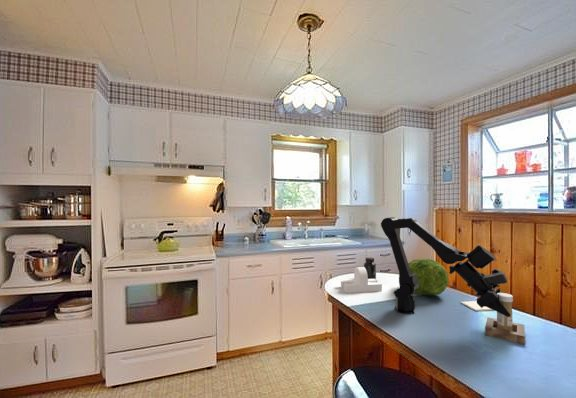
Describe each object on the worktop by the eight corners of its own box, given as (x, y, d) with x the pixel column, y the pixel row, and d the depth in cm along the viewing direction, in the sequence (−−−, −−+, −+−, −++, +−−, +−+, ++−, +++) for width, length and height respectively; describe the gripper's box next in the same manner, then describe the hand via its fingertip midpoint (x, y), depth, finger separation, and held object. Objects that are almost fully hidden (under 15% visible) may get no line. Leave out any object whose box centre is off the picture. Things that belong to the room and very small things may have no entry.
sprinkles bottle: (515, 337, 97) (515, 297, 97) (499, 335, 99) (499, 296, 99) (509, 331, 102) (509, 292, 102) (494, 329, 103) (494, 291, 103)
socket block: (485, 334, 99) (485, 327, 99) (487, 323, 108) (487, 317, 108) (525, 344, 93) (525, 336, 93) (524, 331, 101) (524, 324, 101)
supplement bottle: (376, 280, 164) (376, 259, 164) (364, 280, 165) (363, 259, 165) (375, 277, 171) (375, 257, 170) (363, 276, 172) (363, 256, 172)
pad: (475, 311, 120) (475, 309, 120) (460, 303, 129) (460, 301, 129) (496, 310, 120) (496, 308, 120) (479, 302, 129) (479, 300, 129)
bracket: (345, 293, 144) (345, 270, 144) (340, 287, 154) (340, 265, 154) (382, 291, 146) (382, 269, 146) (375, 285, 156) (374, 264, 156)
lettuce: (422, 285, 156) (413, 253, 158) (460, 291, 134) (449, 255, 136) (396, 295, 150) (387, 263, 152) (432, 303, 128) (421, 265, 130)
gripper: (488, 268, 95) (532, 309, 88) (492, 258, 110) (530, 293, 103) (460, 287, 100) (500, 328, 93) (468, 275, 115) (502, 310, 108)
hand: (509, 313), depth 99 cm, fingers closed on sprinkles bottle, 4 cm apart
